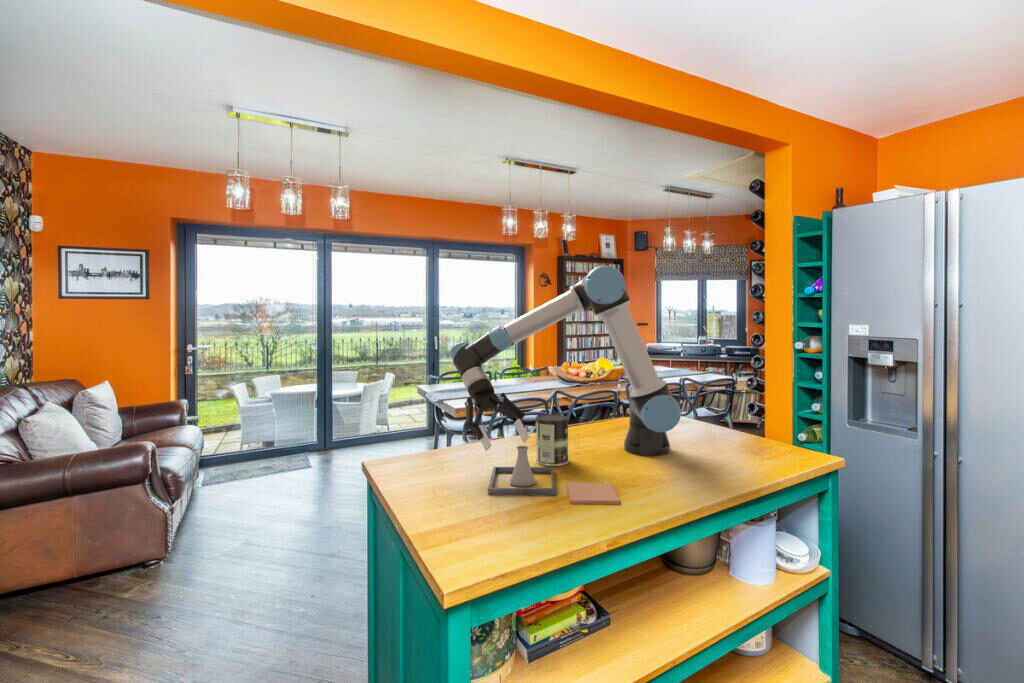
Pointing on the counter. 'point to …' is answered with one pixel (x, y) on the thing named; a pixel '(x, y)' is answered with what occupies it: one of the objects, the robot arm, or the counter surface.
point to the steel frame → (522, 490)
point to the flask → (522, 469)
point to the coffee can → (552, 440)
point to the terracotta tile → (592, 493)
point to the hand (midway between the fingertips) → (508, 443)
